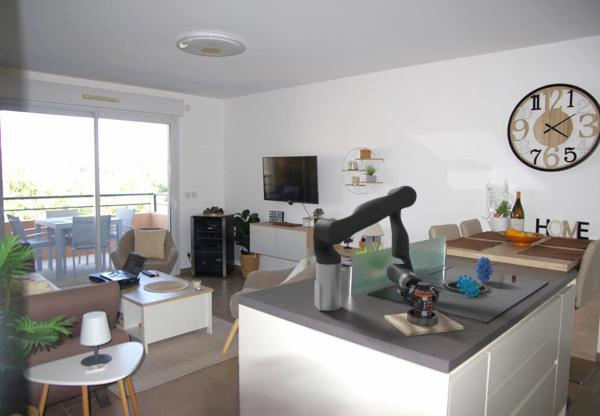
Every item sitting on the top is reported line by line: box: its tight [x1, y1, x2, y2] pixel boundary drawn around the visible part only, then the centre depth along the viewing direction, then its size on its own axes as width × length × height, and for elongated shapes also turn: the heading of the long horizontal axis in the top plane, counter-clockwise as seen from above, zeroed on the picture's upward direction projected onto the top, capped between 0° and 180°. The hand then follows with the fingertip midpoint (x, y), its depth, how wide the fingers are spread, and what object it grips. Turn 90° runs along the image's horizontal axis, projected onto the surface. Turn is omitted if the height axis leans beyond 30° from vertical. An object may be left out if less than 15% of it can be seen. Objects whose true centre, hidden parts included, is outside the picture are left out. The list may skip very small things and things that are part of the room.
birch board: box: [383, 309, 464, 337], centre depth 143 cm, size 20×16×1 cm
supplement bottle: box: [413, 281, 433, 318], centre depth 142 cm, size 6×6×11 cm
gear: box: [456, 274, 482, 298], centre depth 175 cm, size 11×6×10 cm
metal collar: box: [406, 308, 439, 327], centre depth 143 cm, size 10×10×2 cm
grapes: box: [474, 256, 494, 284], centre depth 190 cm, size 12×7×12 cm, turn 129°
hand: (425, 299), depth 140 cm, fingers closed on supplement bottle, 6 cm apart
